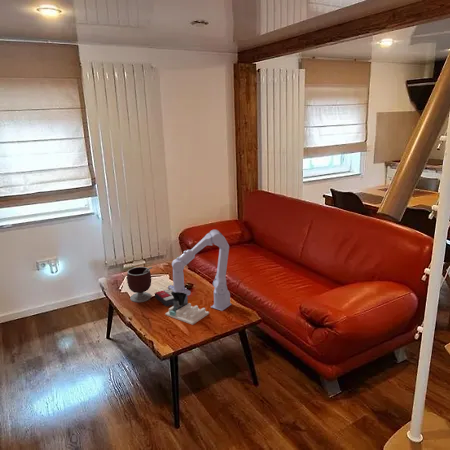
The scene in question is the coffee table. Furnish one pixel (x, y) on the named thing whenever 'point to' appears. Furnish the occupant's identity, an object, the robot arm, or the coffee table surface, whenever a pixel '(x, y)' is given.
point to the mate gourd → (139, 283)
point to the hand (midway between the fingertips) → (179, 304)
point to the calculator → (165, 297)
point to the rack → (188, 313)
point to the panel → (177, 303)
